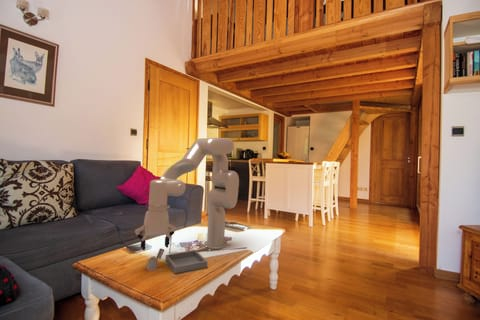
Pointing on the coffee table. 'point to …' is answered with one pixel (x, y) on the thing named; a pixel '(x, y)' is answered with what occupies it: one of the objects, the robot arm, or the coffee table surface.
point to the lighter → (154, 261)
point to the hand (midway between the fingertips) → (155, 247)
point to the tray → (185, 261)
